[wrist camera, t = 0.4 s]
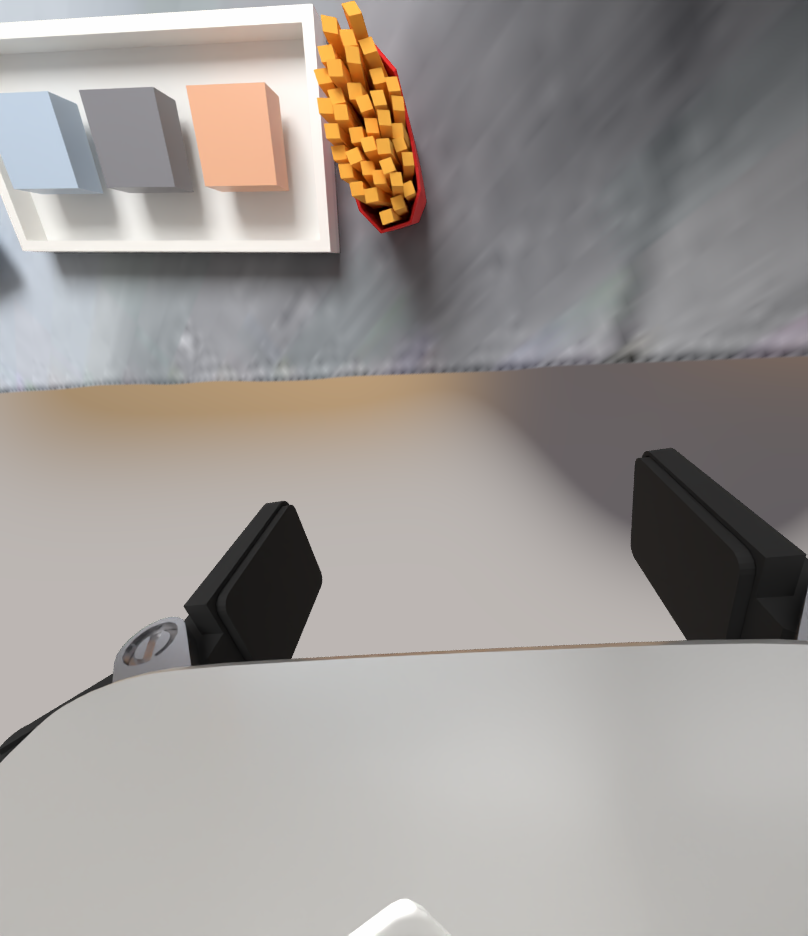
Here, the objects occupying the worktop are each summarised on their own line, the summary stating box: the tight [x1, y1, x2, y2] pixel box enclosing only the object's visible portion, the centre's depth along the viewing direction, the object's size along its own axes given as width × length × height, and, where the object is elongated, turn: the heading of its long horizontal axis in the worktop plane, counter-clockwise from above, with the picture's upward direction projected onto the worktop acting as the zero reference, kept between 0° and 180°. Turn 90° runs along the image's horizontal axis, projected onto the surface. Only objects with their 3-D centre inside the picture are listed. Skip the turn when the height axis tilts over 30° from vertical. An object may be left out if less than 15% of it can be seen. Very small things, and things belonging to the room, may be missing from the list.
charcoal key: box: [79, 87, 194, 193], centre depth 29 cm, size 6×6×2 cm
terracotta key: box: [186, 82, 289, 192], centre depth 28 cm, size 6×6×2 cm
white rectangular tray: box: [0, 4, 340, 253], centre depth 31 cm, size 14×28×3 cm, turn 90°
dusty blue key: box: [0, 91, 103, 194], centre depth 30 cm, size 6×6×2 cm
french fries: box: [314, 1, 426, 233], centre depth 25 cm, size 9×4×13 cm, turn 15°
